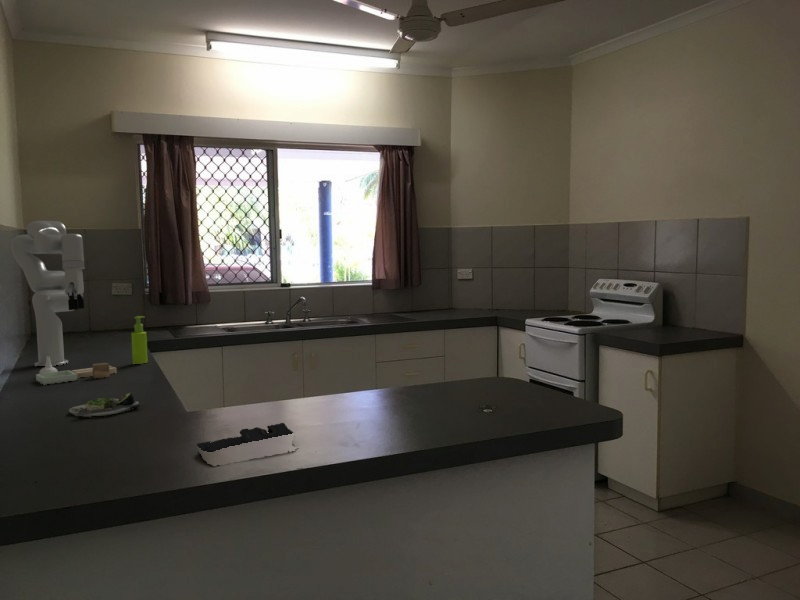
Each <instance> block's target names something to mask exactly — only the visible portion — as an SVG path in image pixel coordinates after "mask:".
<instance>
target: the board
mask: <svg viewBox="0 0 800 600" xmlns="http://www.w3.org/2000/svg"><path fill="white" fill-rule="evenodd" d="M70 371H71V372H74V373H76V374H77V379H81V378H80V377H85V378H90V376H93V367H89V368H87V367H86V368H80V369H72V370H70ZM117 372H118V371H117V367H115V366H113V365H109V374H110V375H113V373H115V374H117Z"/></svg>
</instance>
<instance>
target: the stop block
mask: <svg viewBox="0 0 800 600" xmlns="http://www.w3.org/2000/svg"><path fill="white" fill-rule="evenodd" d="M109 366H110V364H109V363H108V362H100V363H94V364H92V367H91V368H93V377H92V378H93V379H96V378H98V379H103V378H104V377H105V378H110V376H111V374H109ZM105 378H104V379H105ZM96 380H97V379H96Z"/></svg>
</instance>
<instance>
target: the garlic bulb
mask: <svg viewBox="0 0 800 600" xmlns="http://www.w3.org/2000/svg"><path fill="white" fill-rule="evenodd" d="M51 372H59V371H58V369H57V368H55V366H52V365H51V361H50V357H47V359H46V365H45V367H41V369H40V370H39V373H38V374H43V373H51Z"/></svg>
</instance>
